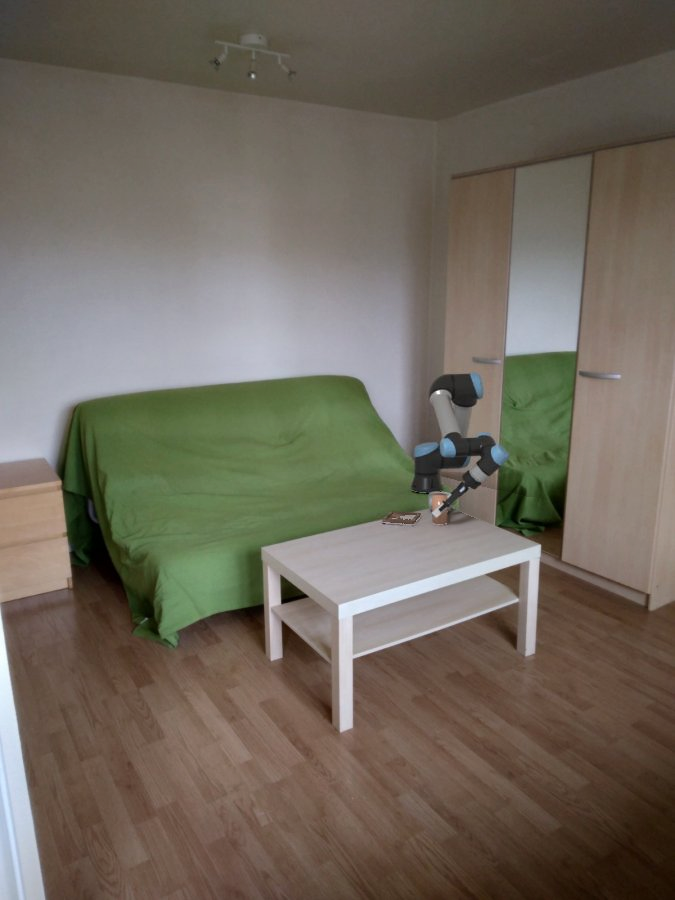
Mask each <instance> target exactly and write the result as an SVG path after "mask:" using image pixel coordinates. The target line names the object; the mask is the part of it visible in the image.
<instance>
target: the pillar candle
mask: <svg viewBox="0 0 675 900" xmlns="http://www.w3.org/2000/svg"><path fill="white" fill-rule="evenodd" d="M443 500H444V501H446V500H447V494H443V493H436V494H433V495H432V510H431V511H432V512H433V511H434V510H435V509H436V508H437V507H439V506H440V505H441V504H442V503H443V502H442V501H443ZM432 512H431V513H432ZM431 517H432V519H431V520H432V522H433V523H435V524H445V523H447V524H448V512H447V509H446V510H445V511H444V512H442V513H441V514H440V515H439V516H438V517H437V518H436V517H435V516H434V515H433V514H432V515H431ZM432 522H431V523H432Z"/></svg>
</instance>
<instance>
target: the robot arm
mask: <svg viewBox="0 0 675 900" xmlns="http://www.w3.org/2000/svg"><path fill="white" fill-rule="evenodd" d="M483 398H484V384H483V380H482V378H481V375H480V374H479V373H477V372H474V373H473V372H472V373H471V372H469V373H446V374H442V375H440V376H438V377H436V378H435V380H434V381H433V382H432V383H431V385H430V387H429V390H428V399H429V402H430V404H431V406H433V408H434V412H435V416H436V420H437V421H438V426H439V429H440V433H441V435H442V439H440V441H439V443H438V442H435V441H432V442H423V443H420V444H418V445H416V446H414V451H413V452H414V453H413V457H414V459H413V460H414V463H413V464H414V468H413V469H414V476H413V479H412V482H411V486H410V490H411V489H412V490H414V491H417V492H426V493H430V492H437V491H440V490H441V489H442V490H443V485H442V482H441V479H440V476H439V470H449V469H450V470H451V469H452V470H453V469H454V470H455V469H456V470H457V469H458V470H459V469H464V468H467V467H468V466H469V465H470V463H471V457H480V458H479V459H478V460H477V461H475V463H474V464H473V465H472V466H471V467H470V468H469V469H468V470H467V471H465V472H463V474H462V476H461V477H462V481H461V482H460V483H459V484H458V485H457V486H456V488H455V489H453V491H450V493H451V494H449V495H448V496H447V500H446V501H444V500H443V501H442V502H443V503H442V504H441V505H440V506H439V507H437V508H436V509H435V510H434V511H433V512H431V513H432V514H433V515H434V516H435V517H436V518H437V517H438V516H439V515H440V514H441V513H442V512H444V511H445V510H446V509H447V508H448V507H450V505H451V504H452V503H453V504H454V502H456V501H457V500H458V499H459V498H460V497H462V496H463V495H464V494H466V493H467V492H468V491H469V490H470V489H472V490H476V489H478V488H479V487H480V486H481V485H482V483H484V482H485V481H488V480H490V477H491V476H492V475H493V474H494V473H495V472H497V470H499V469H500V468H501V467H502V466H504V465H505V463H506V462H508V460H509V459H510V453H509V452H508V450H507V449H505V447H504V446H503V445H501V444H499V443H497V444H496V441H495V438H494V437H493V436H492V435H491V434H490V433H489V432H484V431H483V432H480V433H478V434H476V435H475V436H474V437H468V435H469V434H468V433H469V429H470V423H471V418H472V417H471V416H472V411H473V408H474V407H475V406H476V405H477V403H478V400H482V399H483Z"/></svg>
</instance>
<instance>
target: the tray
mask: <svg viewBox="0 0 675 900" xmlns="http://www.w3.org/2000/svg"><path fill="white" fill-rule="evenodd" d="M405 515H416V516H415V517H414V518H413V519H412V520H411V519H409V520H408V519H405V520H403V518H402V519H401V518H400V516H405ZM420 515H421V516H422V514H421V512H412V511H411V512H410V511H399V510H398V511H396V510H390V511H389V512H388V513H387V514H386V515H384V517H383V518H382V519H381V520H382V521H381V523H382V522H390V523H402V524H403V523H404V524H414V523H415V522H416V520H417V519H418V518H419V517H420ZM397 517H398V518H397ZM392 518H397V519H392Z"/></svg>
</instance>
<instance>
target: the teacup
mask: <svg viewBox="0 0 675 900" xmlns="http://www.w3.org/2000/svg"><path fill="white" fill-rule="evenodd" d="M436 493H443V494H447V496H448V495H449V494H451V492H448V491H447V492H446V491H441V492H430V493H429V494H427V496H428V501H427V502H428V508H429V509H430V510H431V511H432V495H433V494H436ZM453 505H454V502H453V503H452V504H451V505H450V507H448V508H447V511H449V512H450V511H452V508H453Z"/></svg>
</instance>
